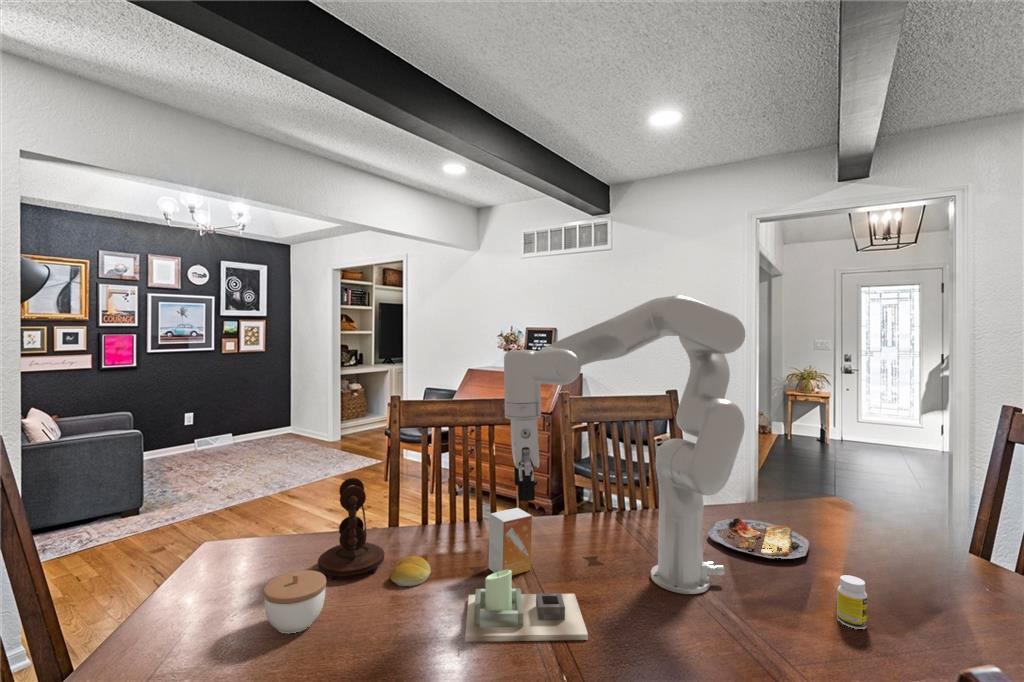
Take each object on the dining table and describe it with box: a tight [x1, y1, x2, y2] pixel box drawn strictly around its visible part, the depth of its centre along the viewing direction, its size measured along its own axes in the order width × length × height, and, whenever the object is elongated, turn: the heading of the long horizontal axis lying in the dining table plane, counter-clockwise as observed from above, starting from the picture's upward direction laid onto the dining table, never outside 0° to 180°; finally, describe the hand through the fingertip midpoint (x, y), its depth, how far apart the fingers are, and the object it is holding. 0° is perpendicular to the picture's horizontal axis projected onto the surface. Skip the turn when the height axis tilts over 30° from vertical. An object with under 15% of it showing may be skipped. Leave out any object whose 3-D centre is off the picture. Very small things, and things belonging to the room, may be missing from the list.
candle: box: [484, 570, 513, 611], centre depth 94 cm, size 5×5×8 cm
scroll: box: [317, 477, 385, 580], centre depth 115 cm, size 15×15×20 cm
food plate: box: [707, 517, 810, 560], centre depth 132 cm, size 25×23×4 cm
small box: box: [488, 507, 533, 576], centre depth 115 cm, size 8×6×13 cm
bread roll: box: [389, 555, 432, 587], centre depth 110 cm, size 8×9×4 cm
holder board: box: [464, 587, 589, 643], centre depth 95 cm, size 22×14×4 cm, turn 92°
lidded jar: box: [263, 569, 327, 635], centre depth 92 cm, size 11×11×9 cm
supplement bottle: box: [836, 574, 868, 630], centre depth 95 cm, size 5×5×8 cm
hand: (524, 492), depth 102 cm, fingers open, 9 cm apart
